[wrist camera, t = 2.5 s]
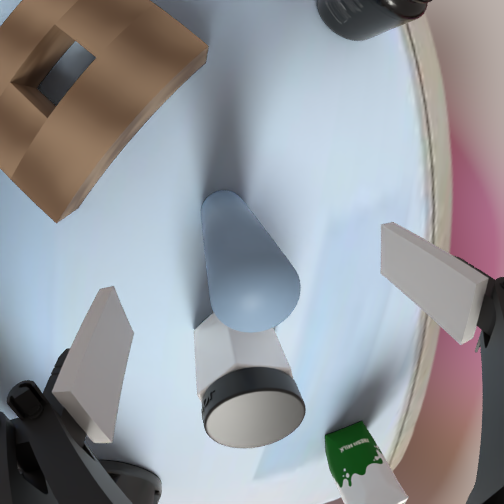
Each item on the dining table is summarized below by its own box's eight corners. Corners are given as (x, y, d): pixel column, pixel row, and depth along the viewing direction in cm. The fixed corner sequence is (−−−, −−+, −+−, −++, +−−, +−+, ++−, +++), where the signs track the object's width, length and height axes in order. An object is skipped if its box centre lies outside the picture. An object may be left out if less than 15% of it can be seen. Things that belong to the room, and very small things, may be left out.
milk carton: (321, 455, 46) (357, 540, 28) (319, 433, 43) (363, 531, 24) (363, 439, 47) (406, 517, 29) (367, 415, 43) (419, 503, 25)
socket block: (78, 208, 24) (56, 223, 19) (-22, 109, 18) (-51, 108, 13) (205, 62, 22) (208, 46, 17) (86, -26, 15) (71, -48, 11)
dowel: (224, 242, 28) (255, 345, 14) (191, 214, 26) (190, 300, 13) (255, 210, 27) (317, 289, 14) (222, 180, 26) (256, 232, 12)
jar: (184, 313, 30) (184, 402, 19) (261, 290, 30) (298, 371, 19) (211, 373, 33) (222, 458, 22) (278, 354, 34) (311, 434, 23)
